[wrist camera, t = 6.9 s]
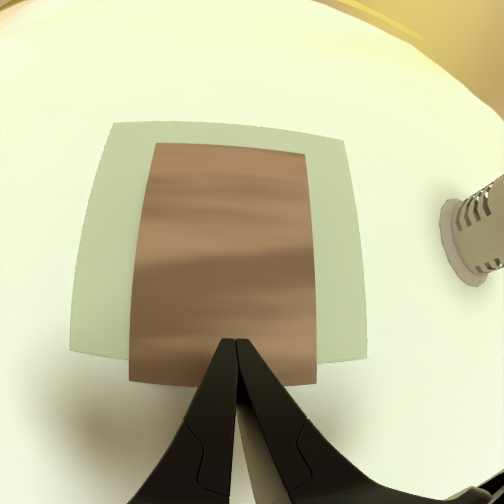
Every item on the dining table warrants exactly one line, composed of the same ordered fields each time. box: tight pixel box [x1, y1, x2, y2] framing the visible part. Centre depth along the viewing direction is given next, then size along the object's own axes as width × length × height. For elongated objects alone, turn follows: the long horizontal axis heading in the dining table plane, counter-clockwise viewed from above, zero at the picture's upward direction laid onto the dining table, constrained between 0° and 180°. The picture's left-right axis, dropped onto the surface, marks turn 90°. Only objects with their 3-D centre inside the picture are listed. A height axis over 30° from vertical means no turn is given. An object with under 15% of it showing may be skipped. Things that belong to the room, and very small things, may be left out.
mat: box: [70, 121, 367, 364], centre depth 18 cm, size 18×20×1 cm
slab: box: [129, 143, 317, 387], centre depth 15 cm, size 4×9×13 cm
